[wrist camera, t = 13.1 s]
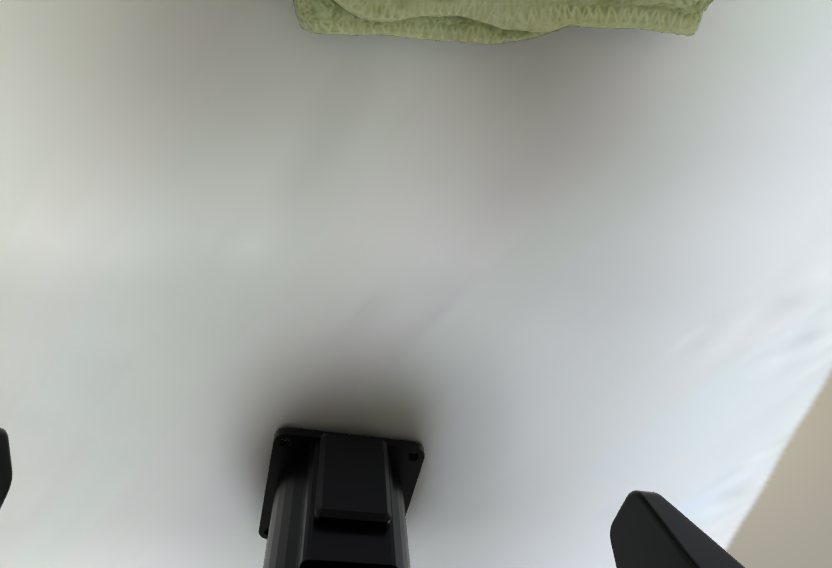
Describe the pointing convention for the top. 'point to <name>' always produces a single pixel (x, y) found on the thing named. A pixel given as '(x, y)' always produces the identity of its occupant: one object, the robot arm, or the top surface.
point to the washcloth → (494, 17)
